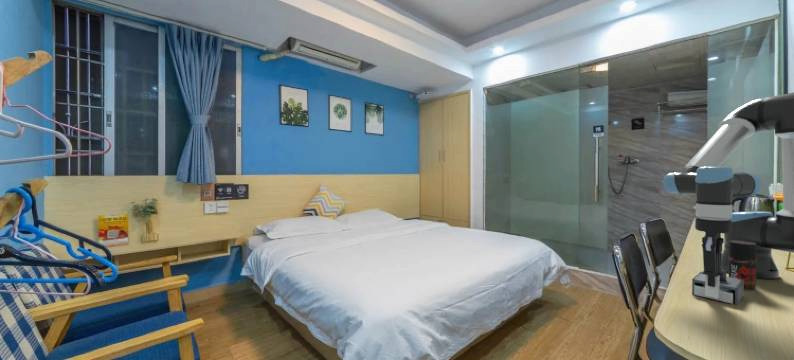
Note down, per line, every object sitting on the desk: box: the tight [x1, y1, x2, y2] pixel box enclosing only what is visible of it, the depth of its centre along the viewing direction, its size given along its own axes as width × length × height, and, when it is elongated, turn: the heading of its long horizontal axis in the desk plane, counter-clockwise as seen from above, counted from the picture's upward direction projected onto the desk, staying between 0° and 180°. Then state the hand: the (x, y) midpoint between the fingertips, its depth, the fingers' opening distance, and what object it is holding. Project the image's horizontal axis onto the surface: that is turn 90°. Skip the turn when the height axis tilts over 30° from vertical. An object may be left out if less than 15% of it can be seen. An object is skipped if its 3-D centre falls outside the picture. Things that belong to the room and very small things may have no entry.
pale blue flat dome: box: [703, 284, 731, 293], centre depth 93 cm, size 6×6×2 cm
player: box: [691, 269, 745, 305], centre depth 94 cm, size 11×10×8 cm
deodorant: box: [728, 240, 757, 292], centre depth 99 cm, size 6×6×15 cm
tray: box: [693, 285, 734, 305], centre depth 93 cm, size 11×8×3 cm
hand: (712, 296), depth 89 cm, fingers closed
